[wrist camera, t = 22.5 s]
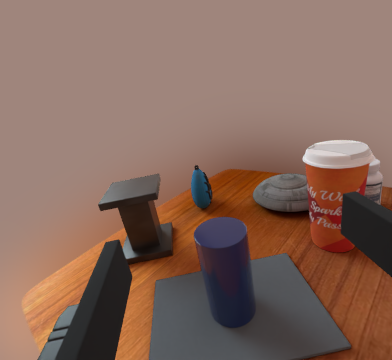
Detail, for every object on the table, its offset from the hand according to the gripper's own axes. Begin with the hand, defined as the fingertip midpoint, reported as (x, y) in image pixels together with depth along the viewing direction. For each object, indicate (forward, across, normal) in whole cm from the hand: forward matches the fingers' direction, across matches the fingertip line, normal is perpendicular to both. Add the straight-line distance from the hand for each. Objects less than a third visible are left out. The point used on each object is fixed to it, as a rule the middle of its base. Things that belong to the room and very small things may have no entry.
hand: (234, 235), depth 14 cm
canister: (+10, 0, -17) cm, 20 cm away
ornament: (+38, 0, -18) cm, 42 cm away
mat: (+10, 0, -18) cm, 20 cm away
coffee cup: (+18, +18, -18) cm, 31 cm away
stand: (+27, -12, -18) cm, 34 cm away
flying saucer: (+33, +18, -18) cm, 41 cm away
